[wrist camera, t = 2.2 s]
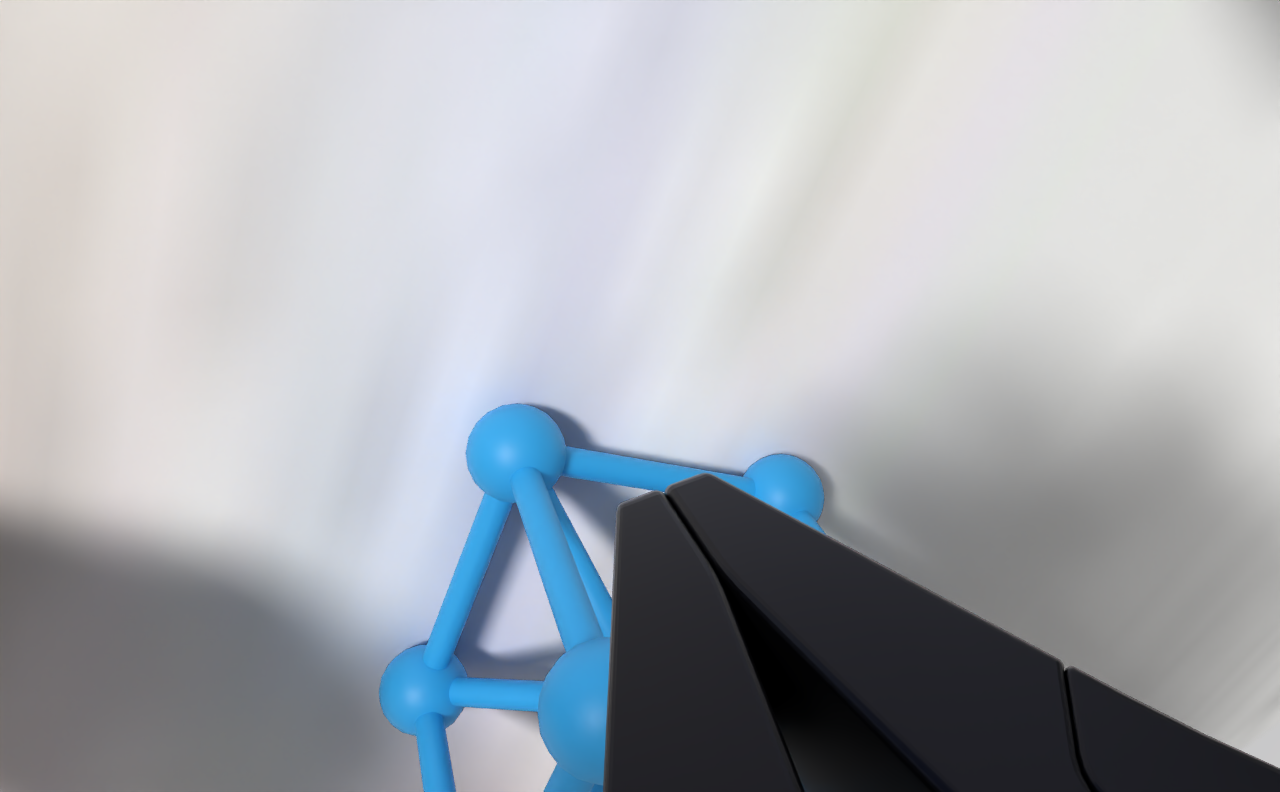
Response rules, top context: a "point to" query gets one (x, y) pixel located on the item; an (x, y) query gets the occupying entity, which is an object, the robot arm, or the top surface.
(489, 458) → the molecular structure
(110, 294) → the top surface
